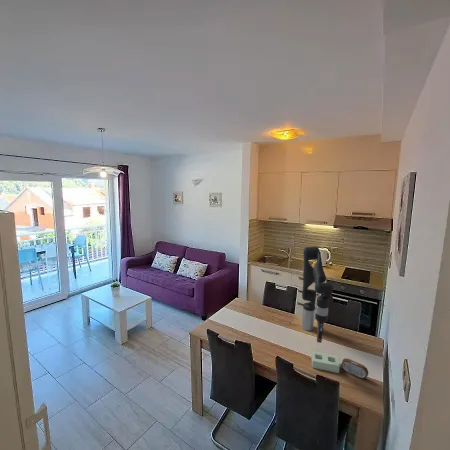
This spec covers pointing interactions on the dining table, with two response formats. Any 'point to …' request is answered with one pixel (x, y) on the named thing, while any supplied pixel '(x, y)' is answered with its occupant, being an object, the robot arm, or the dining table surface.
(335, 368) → the hole block
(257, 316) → the dining table surface
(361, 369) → the tin
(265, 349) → the dining table surface
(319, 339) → the peg
